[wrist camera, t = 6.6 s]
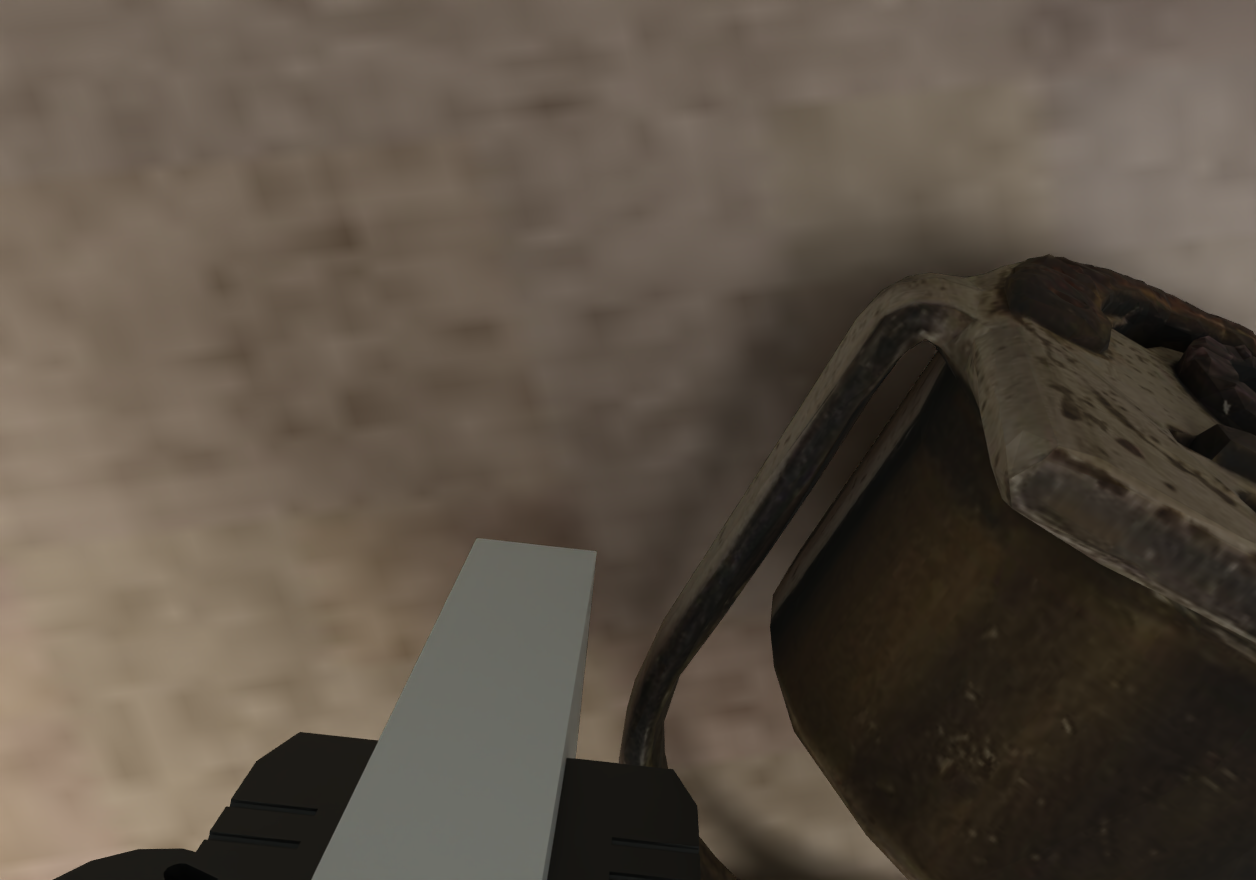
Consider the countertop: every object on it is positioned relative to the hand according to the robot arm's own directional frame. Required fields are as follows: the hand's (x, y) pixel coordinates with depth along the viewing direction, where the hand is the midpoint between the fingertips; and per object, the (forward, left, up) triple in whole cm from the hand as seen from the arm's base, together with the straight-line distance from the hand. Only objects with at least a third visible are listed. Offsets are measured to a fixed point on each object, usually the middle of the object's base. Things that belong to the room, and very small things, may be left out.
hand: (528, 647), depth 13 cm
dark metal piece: (0, +1, -1) cm, 1 cm away
